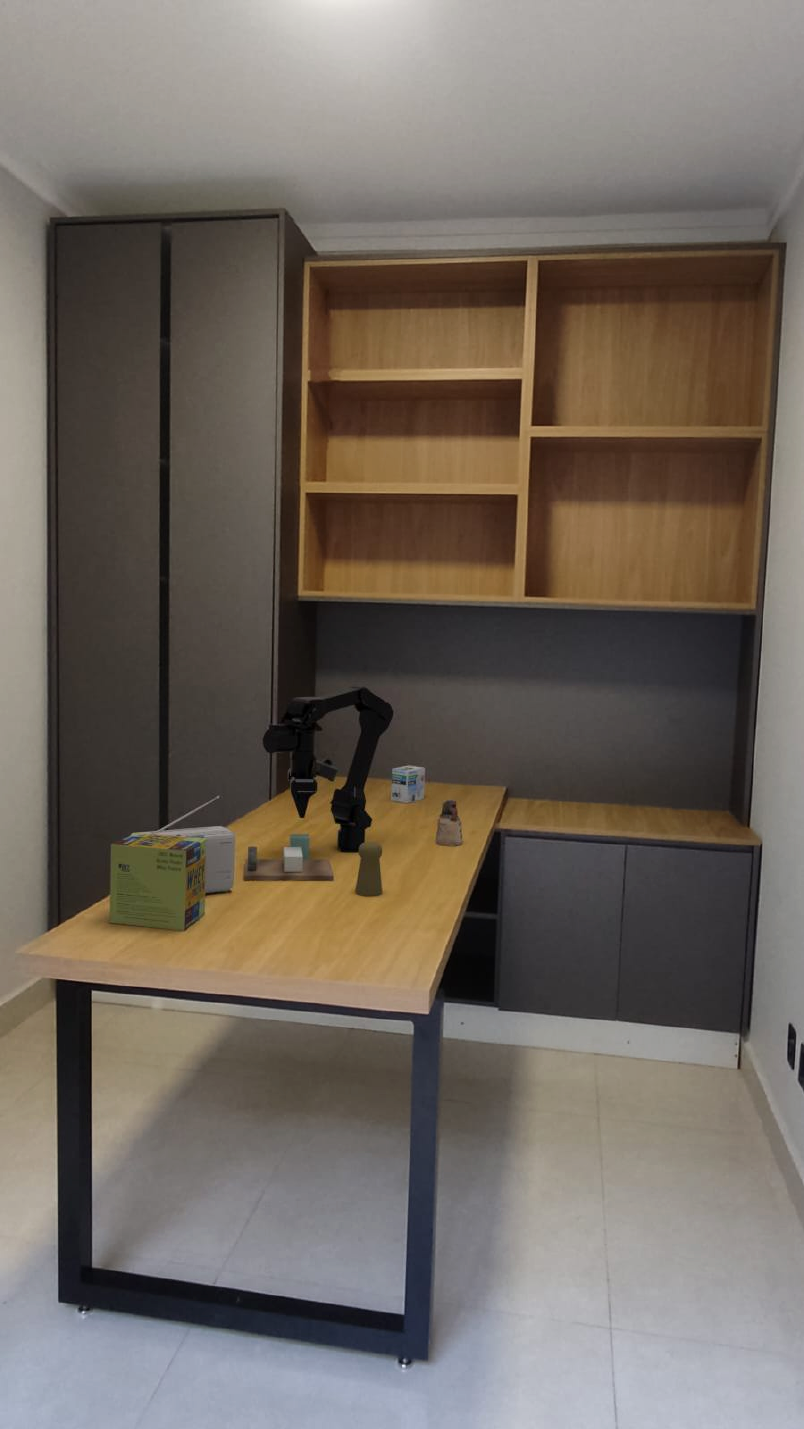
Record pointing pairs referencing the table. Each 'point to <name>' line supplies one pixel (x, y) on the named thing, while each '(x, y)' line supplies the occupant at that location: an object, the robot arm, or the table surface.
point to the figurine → (449, 825)
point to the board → (275, 869)
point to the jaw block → (301, 843)
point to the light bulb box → (408, 784)
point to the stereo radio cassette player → (211, 852)
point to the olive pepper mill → (369, 870)
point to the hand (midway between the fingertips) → (301, 813)
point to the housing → (292, 859)
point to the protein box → (158, 881)
